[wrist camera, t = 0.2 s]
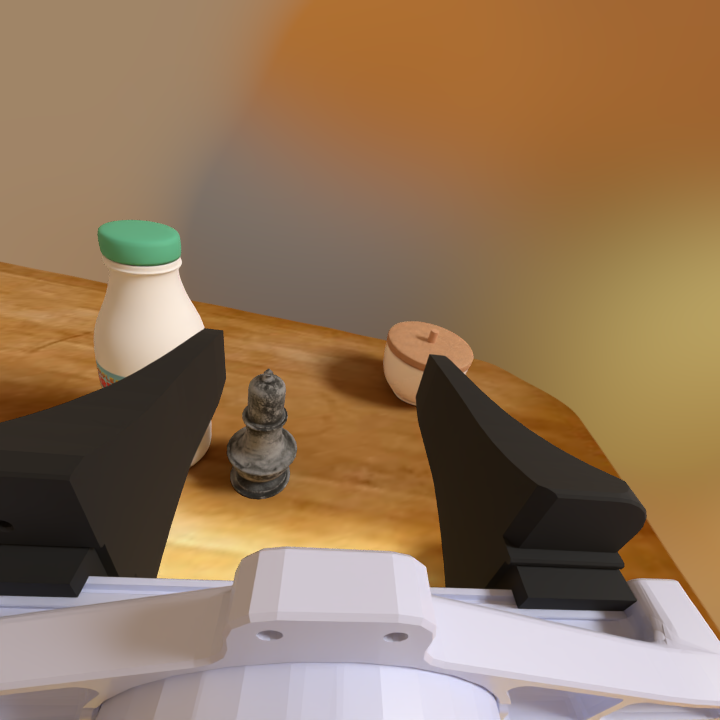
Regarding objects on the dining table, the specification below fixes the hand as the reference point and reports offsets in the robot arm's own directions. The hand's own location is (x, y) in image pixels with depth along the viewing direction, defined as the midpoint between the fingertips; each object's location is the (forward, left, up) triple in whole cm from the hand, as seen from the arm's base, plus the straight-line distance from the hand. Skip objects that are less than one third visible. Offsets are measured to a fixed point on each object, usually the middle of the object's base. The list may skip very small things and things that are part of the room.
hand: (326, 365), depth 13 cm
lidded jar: (+28, -13, -21) cm, 37 cm away
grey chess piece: (+12, +4, -21) cm, 25 cm away
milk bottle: (+14, +13, -21) cm, 28 cm away
